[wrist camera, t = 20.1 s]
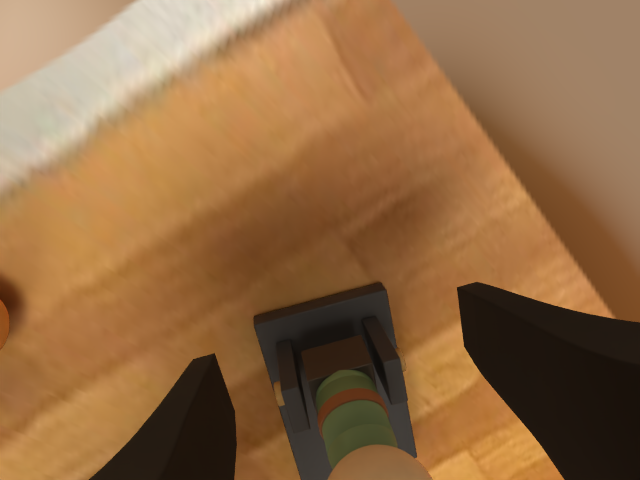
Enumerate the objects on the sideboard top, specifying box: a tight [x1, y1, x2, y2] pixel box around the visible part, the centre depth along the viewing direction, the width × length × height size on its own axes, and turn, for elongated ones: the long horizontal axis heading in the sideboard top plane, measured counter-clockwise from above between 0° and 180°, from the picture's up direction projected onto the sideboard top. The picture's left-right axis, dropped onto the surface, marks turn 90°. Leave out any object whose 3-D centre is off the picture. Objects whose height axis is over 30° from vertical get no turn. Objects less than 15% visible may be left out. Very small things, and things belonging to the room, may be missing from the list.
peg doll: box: [301, 335, 433, 480], centre depth 18 cm, size 4×4×10 cm
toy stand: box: [254, 283, 417, 480], centre depth 24 cm, size 12×7×5 cm, turn 12°
